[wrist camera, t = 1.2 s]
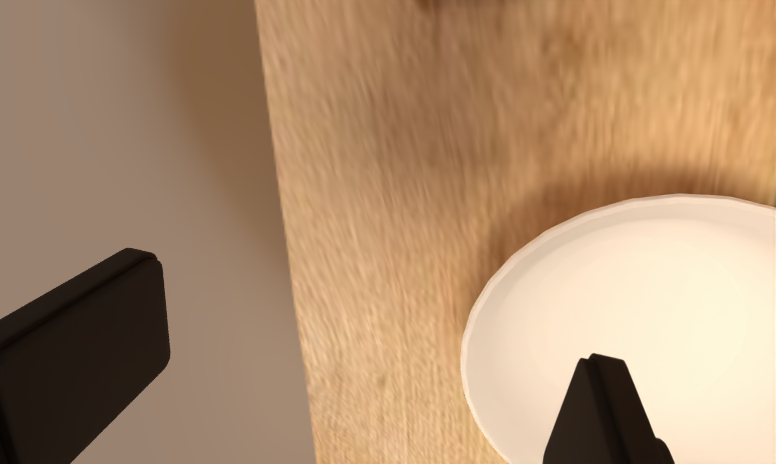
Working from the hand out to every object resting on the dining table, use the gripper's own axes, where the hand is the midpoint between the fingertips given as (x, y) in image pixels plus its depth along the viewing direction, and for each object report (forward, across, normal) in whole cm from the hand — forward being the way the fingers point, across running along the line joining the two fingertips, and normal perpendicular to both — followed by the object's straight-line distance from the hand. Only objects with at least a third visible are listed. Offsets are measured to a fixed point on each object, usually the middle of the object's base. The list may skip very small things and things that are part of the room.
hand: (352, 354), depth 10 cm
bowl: (+20, -13, +8) cm, 25 cm away
